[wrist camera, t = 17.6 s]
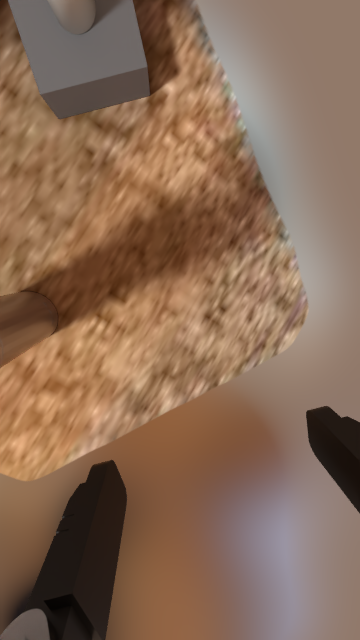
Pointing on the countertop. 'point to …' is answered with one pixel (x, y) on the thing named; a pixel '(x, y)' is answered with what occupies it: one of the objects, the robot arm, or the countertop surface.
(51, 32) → the plinth
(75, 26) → the beige piece
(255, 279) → the countertop surface
